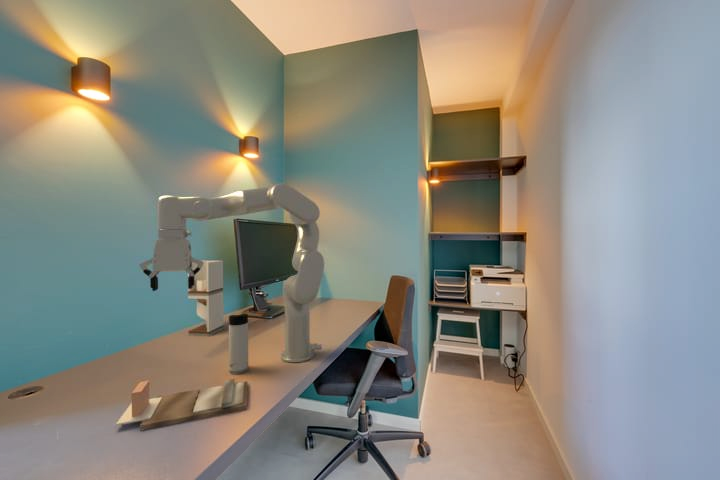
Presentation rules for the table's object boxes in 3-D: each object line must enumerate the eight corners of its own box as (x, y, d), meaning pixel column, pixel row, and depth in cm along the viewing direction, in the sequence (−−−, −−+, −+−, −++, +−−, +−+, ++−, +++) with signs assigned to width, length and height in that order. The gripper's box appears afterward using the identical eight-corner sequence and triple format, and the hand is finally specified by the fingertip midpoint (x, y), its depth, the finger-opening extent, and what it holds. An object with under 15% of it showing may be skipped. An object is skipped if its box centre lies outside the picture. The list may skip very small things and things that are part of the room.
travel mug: (229, 376, 97) (229, 317, 97) (228, 368, 103) (228, 312, 103) (249, 372, 100) (249, 314, 100) (247, 364, 106) (246, 310, 106)
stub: (162, 398, 82) (162, 375, 82) (150, 419, 72) (150, 393, 72) (132, 403, 79) (132, 380, 79) (116, 425, 70) (115, 399, 70)
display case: (204, 328, 150) (203, 260, 150) (223, 328, 149) (222, 260, 148) (188, 335, 139) (187, 262, 138) (208, 336, 137) (208, 262, 137)
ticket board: (247, 385, 92) (247, 376, 92) (246, 409, 78) (246, 399, 78) (157, 400, 83) (157, 390, 83) (140, 430, 70) (140, 419, 70)
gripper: (205, 235, 98) (205, 285, 99) (144, 235, 92) (144, 289, 93) (201, 235, 91) (201, 289, 92) (135, 235, 85) (135, 293, 86)
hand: (173, 289), depth 92 cm, fingers open, 9 cm apart
